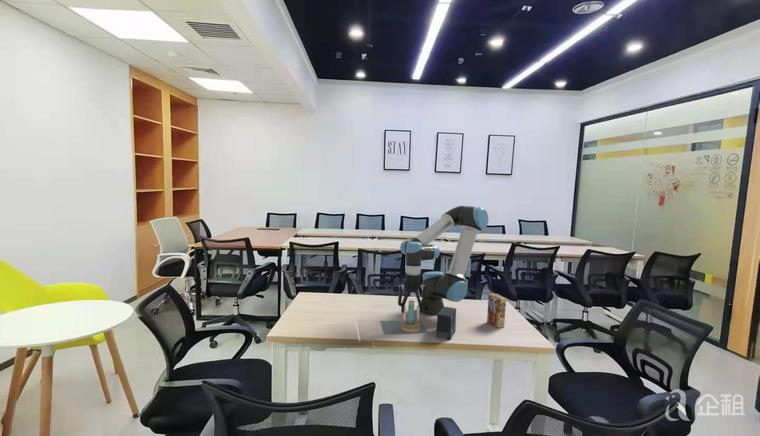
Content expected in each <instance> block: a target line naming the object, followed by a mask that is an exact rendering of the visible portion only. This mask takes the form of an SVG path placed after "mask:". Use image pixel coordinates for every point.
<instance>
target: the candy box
mask: <svg viewBox="0 0 760 436" xmlns="http://www.w3.org/2000/svg"><path fill="white" fill-rule="evenodd" d="M506 307H507V298H506V297H504V296H500V295H498V294H495V293H491V294H488V303H487V315H486V317H487V318H486V323H488V324H490V325H492V326H494V327H496V328H497V329H498V328H499V329H500V328H504V327H505V320H506Z"/></svg>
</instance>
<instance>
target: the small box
mask: <svg viewBox="0 0 760 436" xmlns="http://www.w3.org/2000/svg"><path fill="white" fill-rule="evenodd" d="M456 322H457V308H455V307H450V306H444V307H443V308H442V309H441V310H440V312H439V313H438V314H437V315H436V338H438V339H442V340H443V339H444V340H447V341H451V340H452V338H453V336H454V334H455V333H456V331H457V330H456V329H457V328H456V327H457V323H456Z"/></svg>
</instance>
